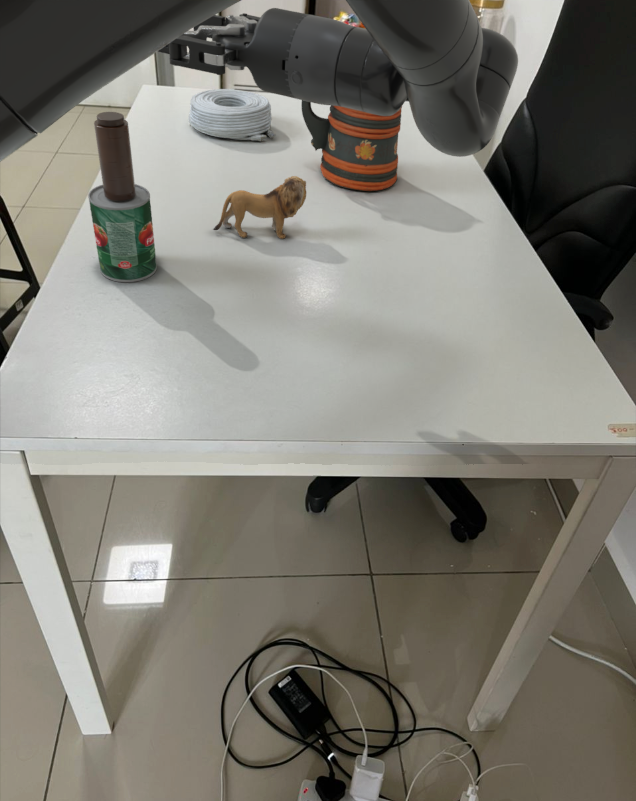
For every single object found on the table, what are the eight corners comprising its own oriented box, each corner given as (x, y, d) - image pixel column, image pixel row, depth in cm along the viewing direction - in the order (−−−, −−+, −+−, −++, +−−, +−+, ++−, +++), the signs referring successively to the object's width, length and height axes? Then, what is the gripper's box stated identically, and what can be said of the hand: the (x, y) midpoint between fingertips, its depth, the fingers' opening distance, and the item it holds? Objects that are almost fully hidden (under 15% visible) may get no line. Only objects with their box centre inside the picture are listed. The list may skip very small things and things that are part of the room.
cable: (277, 142, 133) (279, 112, 129) (192, 143, 130) (191, 111, 126) (263, 114, 146) (264, 85, 142) (185, 113, 142) (184, 84, 138)
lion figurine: (300, 223, 107) (304, 170, 101) (307, 238, 103) (311, 184, 97) (211, 225, 104) (209, 171, 98) (214, 241, 100) (213, 185, 94)
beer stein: (299, 189, 117) (306, 70, 104) (296, 158, 128) (302, 47, 115) (401, 194, 119) (421, 78, 106) (390, 163, 130) (407, 54, 116)
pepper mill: (110, 203, 83) (99, 123, 76) (100, 190, 85) (88, 112, 78) (140, 198, 85) (132, 119, 78) (129, 186, 87) (120, 108, 80)
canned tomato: (166, 273, 92) (160, 200, 85) (114, 288, 88) (103, 212, 81) (141, 249, 96) (133, 178, 89) (90, 262, 92) (78, 188, 85)
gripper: (341, 5, 66) (207, -21, 71) (274, 28, 56) (124, -3, 61) (334, 83, 71) (209, 55, 76) (272, 117, 61) (133, 82, 66)
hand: (171, 29), depth 68 cm, fingers open, 8 cm apart
